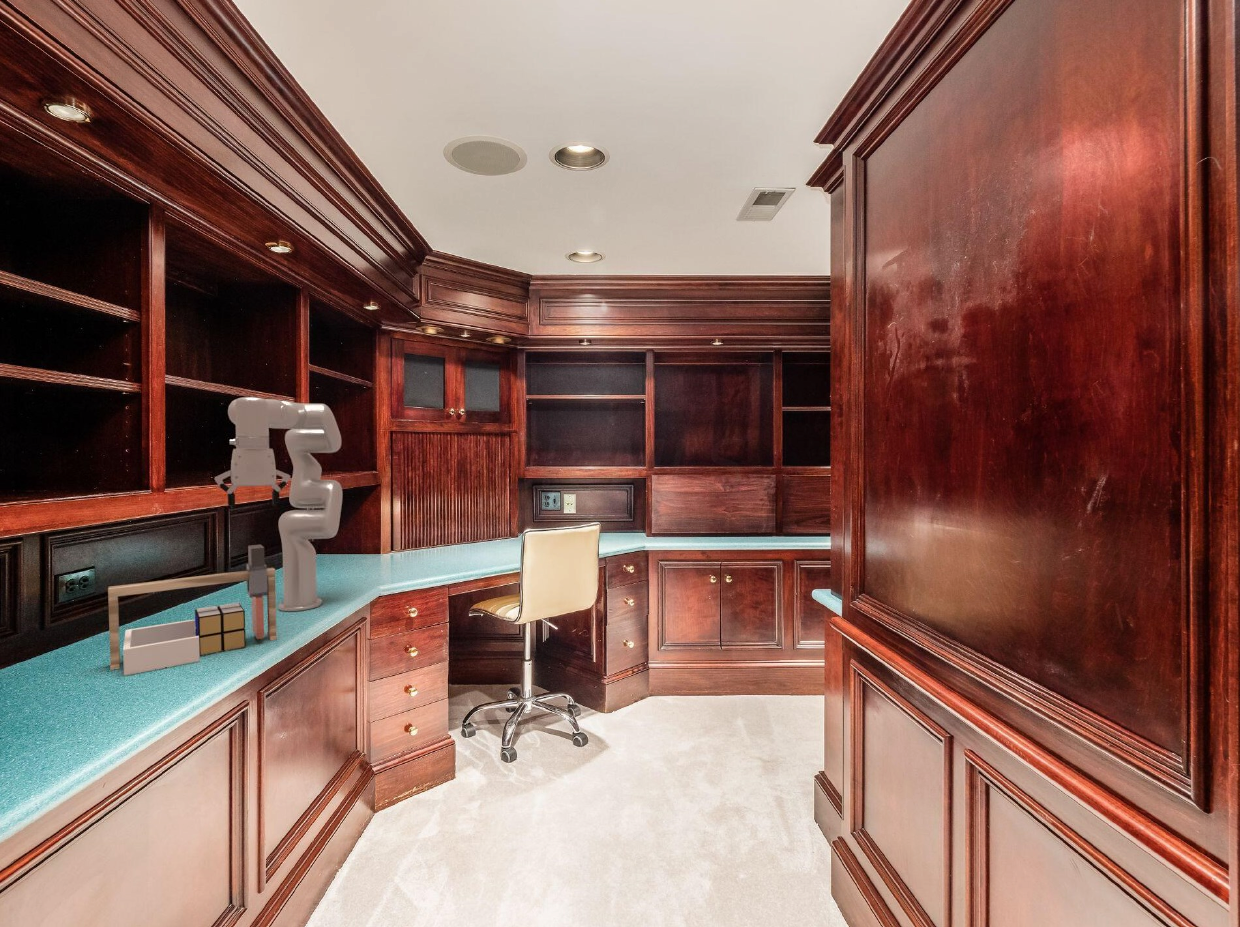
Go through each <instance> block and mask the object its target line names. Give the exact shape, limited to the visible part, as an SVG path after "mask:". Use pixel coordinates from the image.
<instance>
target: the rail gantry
mask: <svg viewBox="0 0 1240 927" xmlns="http://www.w3.org/2000/svg"><path fill="white" fill-rule="evenodd" d="M247 580H249V570H248V571H247V570H241V571H239V570H238V571H232V572H222V573H215V574H207V575H198V576H190V577H181V578H174V579H164V580H156V581H146V582H140V583H139V582H138V583H128V584H121V585H114V586H108V588H107V594H108V595H107V597H108V598H107V599H108V623H109V625H108V627H109V629H108V630H109V654H110V655H109V656H110V658H109V660H110V665H109V666H110V671H114V669H115V670H119V669H120V666H121V655H120V654H121V652H120V651H121V650H120V646H121V645H120V624H119V623H120V622H119V621H120V620H119V618H120V617H119V597H125V596H132V595H141V594H148V593H157V592H163V591H171V590H179V589H180V590H181V589H187V588H195V587H196V588H197V587H203V586H204V587H205V586H212V585H219V584H225V583H226V584H229V583H234V582H236V583H237V582H242V581H243V582H244V581H247ZM276 596H277V595H276V569H275V568H274V567H267V595H266V602H267V603H266V604H267V608H266V609H267V610H266V611H267V613H266V614H267V632H266V636H267V637H268V639H269V640H270V641H276V639H277V640H278V635H277V605H276Z"/></svg>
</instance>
